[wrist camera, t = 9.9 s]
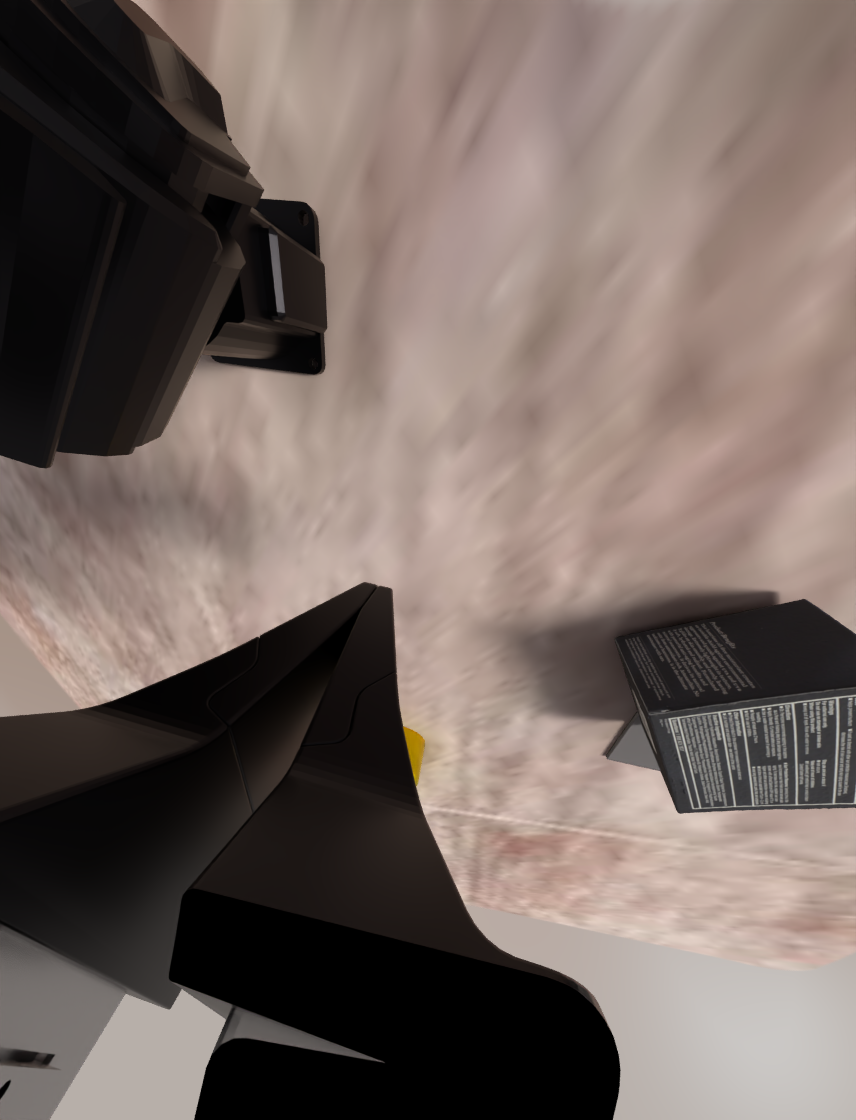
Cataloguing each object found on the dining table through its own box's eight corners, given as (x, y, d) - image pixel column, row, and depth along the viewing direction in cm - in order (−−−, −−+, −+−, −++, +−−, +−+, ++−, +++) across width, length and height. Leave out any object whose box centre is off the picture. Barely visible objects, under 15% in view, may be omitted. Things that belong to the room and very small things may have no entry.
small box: (639, 724, 27) (805, 708, 23) (676, 817, 21) (905, 816, 17) (611, 631, 23) (807, 592, 19) (647, 715, 17) (937, 684, 13)
